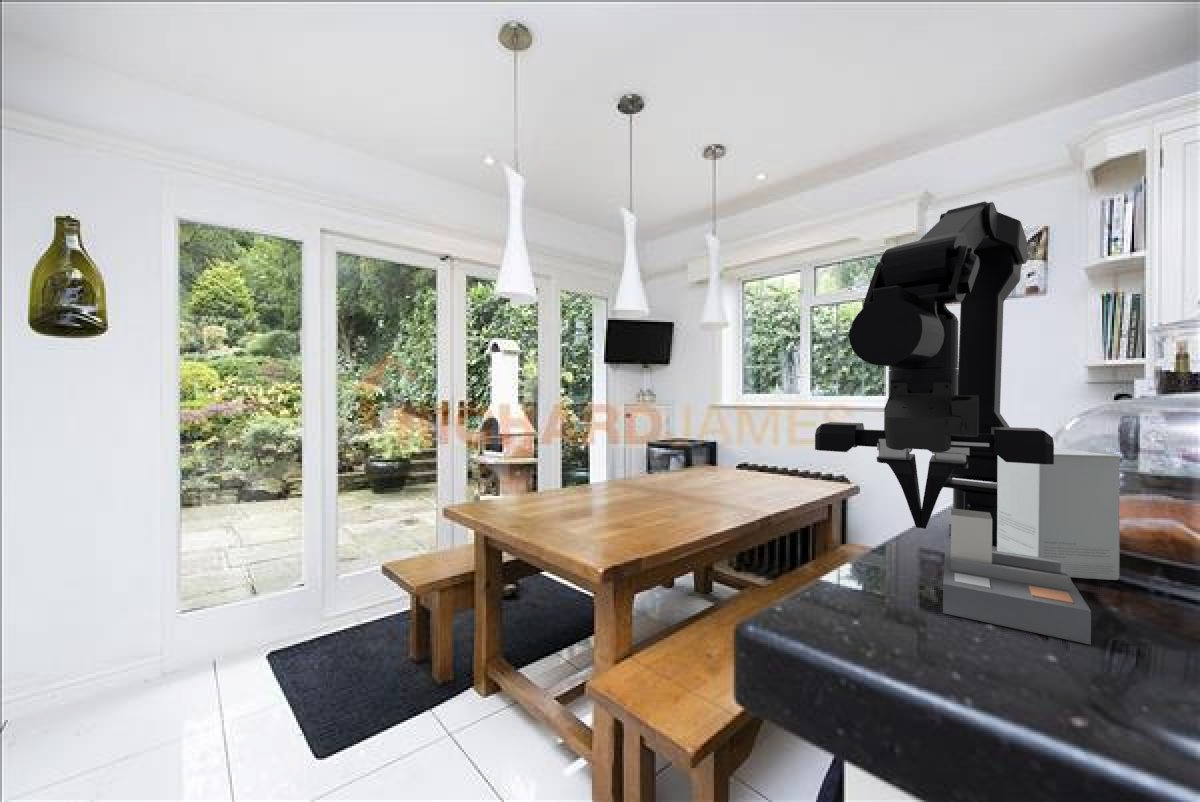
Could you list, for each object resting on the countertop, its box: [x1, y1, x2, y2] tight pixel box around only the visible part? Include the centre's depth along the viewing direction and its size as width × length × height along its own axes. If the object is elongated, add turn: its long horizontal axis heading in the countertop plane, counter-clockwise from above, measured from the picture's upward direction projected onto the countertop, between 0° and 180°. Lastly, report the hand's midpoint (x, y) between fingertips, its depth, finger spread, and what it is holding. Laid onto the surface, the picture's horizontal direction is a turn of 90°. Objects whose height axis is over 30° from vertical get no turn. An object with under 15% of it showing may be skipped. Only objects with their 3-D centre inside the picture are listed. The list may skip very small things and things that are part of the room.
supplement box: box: [996, 448, 1121, 581], centre depth 53 cm, size 7×7×13 cm
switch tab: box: [950, 507, 993, 564], centre depth 46 cm, size 3×3×5 cm
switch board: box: [942, 543, 1092, 646], centre depth 45 cm, size 14×9×4 cm, turn 144°
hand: (921, 527), depth 48 cm, fingers closed
